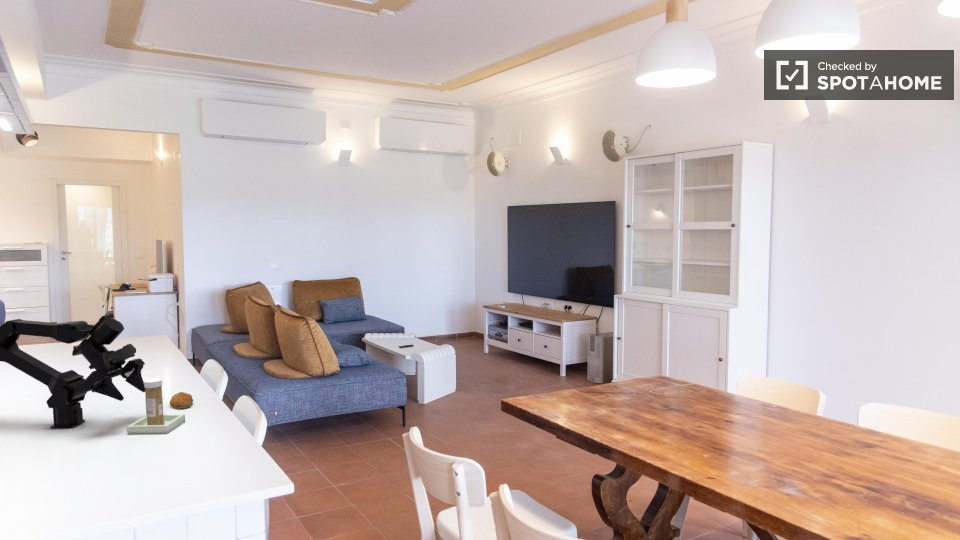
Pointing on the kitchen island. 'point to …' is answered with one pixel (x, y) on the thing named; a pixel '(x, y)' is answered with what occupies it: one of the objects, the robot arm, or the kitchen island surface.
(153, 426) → the tray
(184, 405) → the pastry
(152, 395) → the sprinkles bottle
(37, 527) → the kitchen island surface
